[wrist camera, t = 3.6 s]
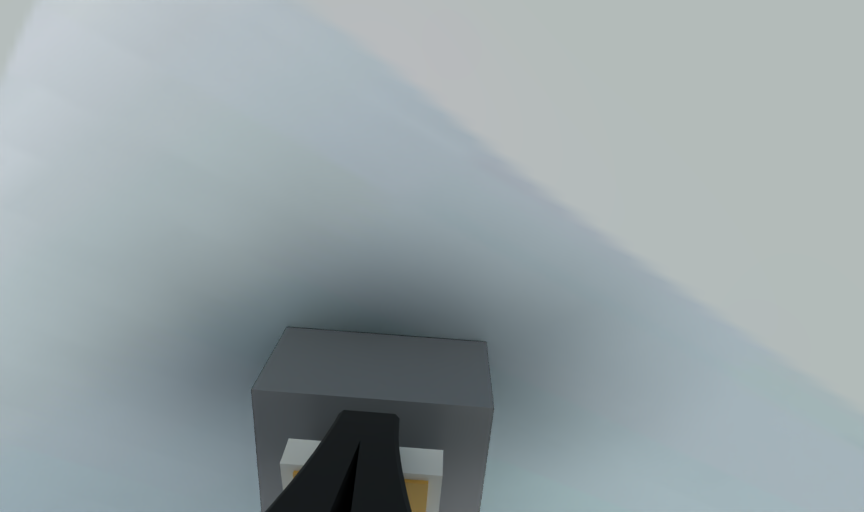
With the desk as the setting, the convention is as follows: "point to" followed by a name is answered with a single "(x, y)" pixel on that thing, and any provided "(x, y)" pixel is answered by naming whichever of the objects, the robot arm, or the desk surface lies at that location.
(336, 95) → the desk surface
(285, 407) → the power strip
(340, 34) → the desk surface
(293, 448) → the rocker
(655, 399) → the desk surface
